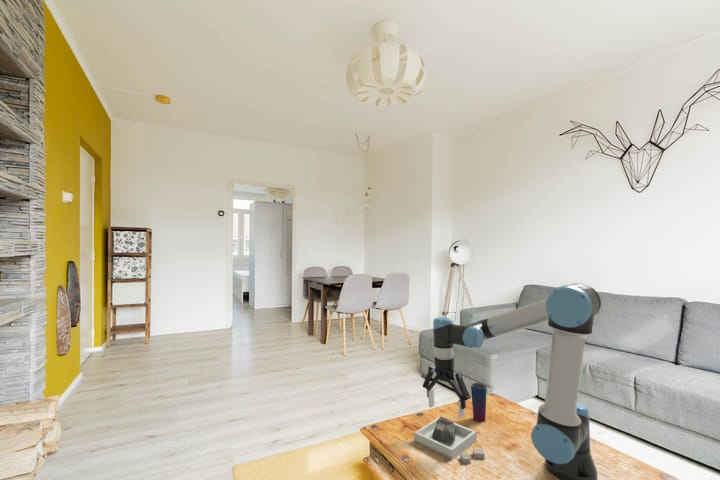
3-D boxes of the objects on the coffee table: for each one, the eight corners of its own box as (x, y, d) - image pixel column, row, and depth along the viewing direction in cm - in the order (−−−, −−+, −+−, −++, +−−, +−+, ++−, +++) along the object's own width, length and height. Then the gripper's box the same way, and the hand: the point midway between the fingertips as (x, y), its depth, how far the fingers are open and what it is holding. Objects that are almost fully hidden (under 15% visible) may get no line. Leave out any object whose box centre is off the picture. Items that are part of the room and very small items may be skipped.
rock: (454, 448, 129) (453, 430, 129) (430, 444, 132) (430, 427, 132) (456, 430, 141) (455, 414, 142) (435, 427, 144) (434, 412, 145)
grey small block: (483, 454, 127) (482, 449, 127) (484, 459, 124) (484, 453, 124) (473, 454, 127) (472, 448, 127) (474, 458, 124) (474, 453, 124)
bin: (476, 440, 136) (476, 431, 136) (452, 460, 123) (452, 450, 123) (439, 425, 148) (439, 417, 148) (414, 441, 135) (414, 432, 136)
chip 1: (470, 464, 121) (470, 458, 121) (463, 464, 121) (463, 459, 121) (467, 458, 124) (467, 453, 124) (460, 458, 124) (460, 453, 124)
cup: (471, 422, 151) (470, 387, 151) (471, 415, 157) (470, 381, 158) (488, 424, 149) (487, 389, 149) (487, 416, 155) (486, 383, 156)
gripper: (477, 361, 130) (480, 418, 129) (423, 349, 148) (425, 399, 147) (467, 365, 125) (470, 425, 124) (413, 353, 143) (415, 405, 142)
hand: (446, 411), depth 136 cm, fingers open, 13 cm apart
